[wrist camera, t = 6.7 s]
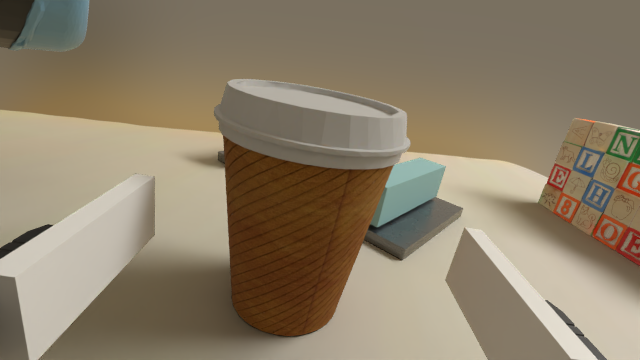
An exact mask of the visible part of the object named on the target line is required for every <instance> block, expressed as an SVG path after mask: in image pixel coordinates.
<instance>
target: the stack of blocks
mask: <svg viewBox="0 0 640 360" xmlns="http://www.w3.org/2000/svg"><path fill="white" fill-rule="evenodd" d="M555 162H556V163H555V164H554V167H553V169H552V171H551V174H550V176H549V179H548V181H547V184H546V185H545V187H544V189H543V191H542V194H541V197H540V199H539V202H538V203H539V204H541V205H543V206H544V207H546V208H547V209H549V210H550V211H552V212H553V213H555V214H556V215H558V216H560V217H561V218H563V219H564V220H566V221H568V222H569V223H571V224H572V225H574V226H575V227H577V228H579V229H580V230H582V231H583V232H585V233H587V234H588V235H590V236H592V237H594V238H595V239H597V240H599V241H600V242H602V243H603V244H605V245H607V246H608V247H610V248H612V249H613V250H615V251H617V252H618V253H620V254H621V255H623V256H625V257H626V258H628V259H629V260H631V261H633V262H634V263H636V264H638V265H639V266H640V130H637V129H633V128H629V127H624V126H619V125H614V124H609V123H603V122H597V121H590V120H584V119H577V118H573V121H572V123H571V126H570V128H569V131H568V133H567V136H566V138H565V140H564V142H563V144H562V146H561V148H560V151H559V153H558V156H557V158H556V160H555Z"/></svg>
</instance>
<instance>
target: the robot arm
mask: <svg viewBox="0 0 640 360" xmlns="http://www.w3.org/2000/svg"><path fill="white" fill-rule="evenodd" d="M88 9H89V0H0V47H4V48H9V49H10V50H20V49H22V48H25V49H37V50H49V51H68V50H71V49H73V48H76V47H78V46H79V45H80V44H81V43H82V42H83V40H84V38H85V35H86V29H87V20H88ZM154 235H155V176H149V175H143V174H134V175H132V176H131V177H129V178H128V179H126V180H124V181H123V182H121V183H120V184H118V185H117V186H115V187H113V188H112V189H110V190H109V191H107V192H106V193H104V194H102V195H101V196H99V197H98V198H96V199H95V200H93V201H91V202H90V203H88V204H87V205H85V206H83V207H82V208H80V209H79V210H77V211H76V212H74V213H72V214H71V215H69V216H68V217H66V218H65V219H63V220H61V221H60V222H58V223H57V224H55V225H49V224H48V225H45V226H42V227H39V228H36V229H33V230H30V231H28V232H26V233H24V234H23V235H21V236H19V237H18V238H16V239H14V240H13V241H12V243H8V244H6V245H4V246H3V247H1V248H0V360H38V359H39V358H40V357H41V356H42V355H43V354H44V353H45V351H46V350H47V349H48V348H49V347H50V346H51V345H52V344H53V343H54V342H55V341H56V340H57V339H58V338H59V336H60V335H61V334H62V333H63V332H64V331H65V330H66V329H67V328H68V327H69V326H70V325H71V324H72V323H73V322H74V320H75V319H76V318H77V317H78V316H79V315H80V314H81V313H82V312H83V311H84V310H85V309H86V308H87V307H88V306H89V304H90V303H91V302H92V301H93V300H94V299H95V298H96V297H97V296H98V295H99V294H100V293H101V292H102V291H103V290H104V288H105V287H106V286H107V285H108V284H109V283H110V282H111V281H112V280H113V279H114V278H115V277H116V276H117V275H118V274H119V272H120V271H121V270H122V269H123V268H124V267H125V266H126V265H127V264H128V263H129V262H130V261H131V260H132V259H133V257H134V256H135V255H136V254H137V253H138V252H139V251H140V250H141V249H142V248H143V247H144V246H145V245H146V244H147V243H148V241H149V240H150V239H151V238H152V237H153V236H154ZM446 282H447V284H448V286H449V288H450V290H451V292H452V294H453V295H454V297H455V299H456V301H457V303H458V305H459V307H460V308H461V310H462V312H463V314H464V316H465V318H466V320H467V322H468V323H469V325H470V327H471V329H472V331H473V333H474V335H475V337H476V338H477V340H478V342H479V344H480V346H481V348H482V350H483V351H484V353H485V355H486V357H487V359H488V360H607V359H606V358H605V357H604V356H603V355H602V354H601V353H600V352H599V350H598V349H597V348H596V347H595V346H594V345H593V344H592V343H591V342H590V341H589V340H588V339H587V338H586V337H584V334H583V333H582V332H581V331H580V330H579V329H578V328H577V327H575V326H574V323H573V322H572V321H571V320H570V319H569V318H568V317H567V316H566V315H565V314H564V313H563V312H562V311H561V310H560V309H558V308H557V307H555V306H554V305H553V304H551V303H550V302H549V301H547V300H544V299H543V298H542V297H541V296H540V294H539V293H538V292H537V291H536V290H535V289H534V288H533V287H532V285H531V284H530V283H529V282H528V281H527V280H526V279H525V278H524V277H523V275H522V274H521V273H520V272H519V271H518V270H517V269H516V268H515V266H514V265H513V264H512V263H511V262H510V261H509V260H508V259H507V258H506V256H505V255H504V254H503V253H502V252H501V251H500V250H499V249H498V247H497V246H496V245H495V244H494V243H493V242H492V241H491V240H490V239H489V237H488V236H487V235H486V234H485V233H484V232H483V231H482V230H478V229H472V228H466V227H465V228H464V230H463V233H462V236H461V239H460V241H459V244H458V247H457V250H456V252H455V255H454V258H453V260H452V263H451V266H450V269H449V271H448V274H447V277H446Z"/></svg>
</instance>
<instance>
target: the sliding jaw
mask: <svg viewBox="0 0 640 360" xmlns="http://www.w3.org/2000/svg"><path fill="white" fill-rule="evenodd" d="M445 168H446V166H443V165H440V164H437V163H434V162H432V161H429V160H426V159H423V158H418V159H414V160H411V161H407V162H403V163H400V164H396V165H394V166H393V169H392V171H391V173H390V176H389V178H388V181H387V183H386V185H385V188H384V191H383V193H382V195H381V198H380V201H379V203H378V205H377V208H376V211H375V213H374V216H373V218H372V221H371V223H370V224H371V225H373V226H375V227H379V226H381V225H383V224H385V223H387V222H389V221H391V220H392V219H394V218H396V217H398V216H400V215H402V214H404V213H406V212H408V211H410V210H411V209H413V208H415V207H417V206H419V205H421V204H423V203H425V202H427V201H428V200H430V199H432V198H434V197H436V196H437V193H438V189H439V186H440V183H441V180H442V177H443V174H444V171H445Z"/></svg>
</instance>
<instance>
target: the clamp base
mask: <svg viewBox="0 0 640 360" xmlns="http://www.w3.org/2000/svg"><path fill="white" fill-rule="evenodd" d="M218 160H220V161H221V162H223V163H225V157H224V151H220V152H218ZM462 210H463V208H461V207H459V206H456V205H454V204H451V203H449V202H446V201H444V200H441V199H439V198H436V197H434V198H432V199H430V200H428V201H427V202H425V203H423V204H421V205H419V206H417V207H415V208H413V209H411V210H410V211H408V212H406V213H404V214H402V215H400V216H398V217H396V218H394V219H392V220H391V221H389V222H387V223H385V224H383V225H381V226H379V227H375V226H373V225H371V224H370V225H369V227H368V230H367V232H366V235H365V237H364V240H366V241H368V242H370V243H372V244H374V245H375V246H377V247H379V248H381V249H383V250H385V251H386V252H388V253H390V254H392V255H394V256H396V257H397V258H399V259H401V260H403V259H404V258H406V257H407V256H408V255H410V254H411V253H412V252H414V251H415V250H416V249H418V248H419V247H420V246H422V245H423V244H424V243H426V242H427V241H428V240H430V239H431V238H432V237H434V236H435V235H436V234H438V233H439V232H440V231H442V230H443V229H444V228H446V227H447V226H448V225H450V224H451V223H452V222H454V221H455V220H456V219H458V218H459V217H460V216H461V213H462Z"/></svg>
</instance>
